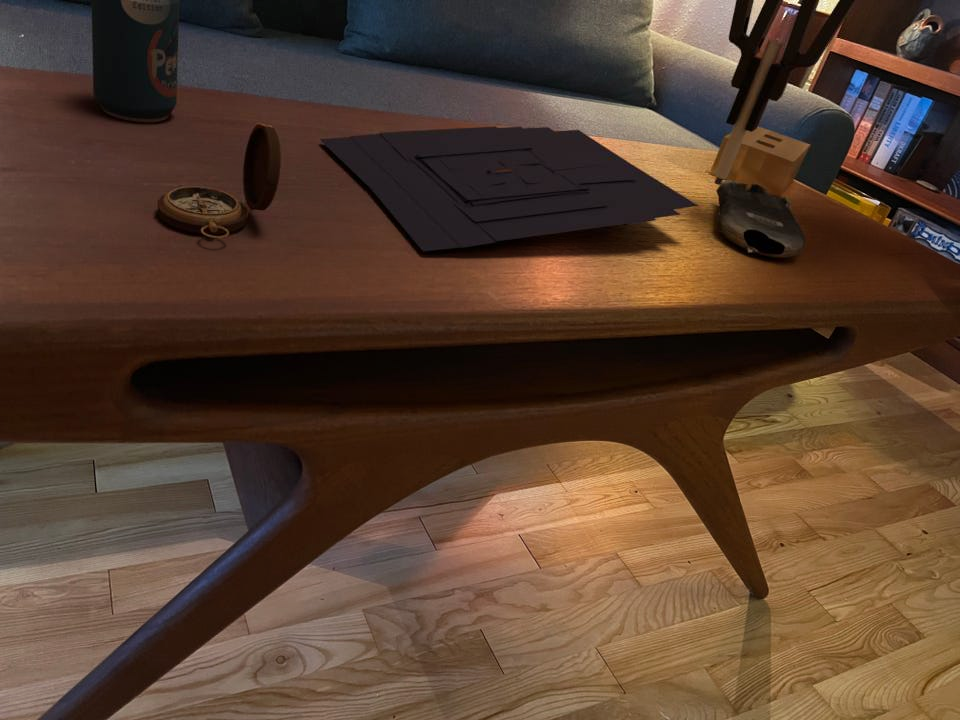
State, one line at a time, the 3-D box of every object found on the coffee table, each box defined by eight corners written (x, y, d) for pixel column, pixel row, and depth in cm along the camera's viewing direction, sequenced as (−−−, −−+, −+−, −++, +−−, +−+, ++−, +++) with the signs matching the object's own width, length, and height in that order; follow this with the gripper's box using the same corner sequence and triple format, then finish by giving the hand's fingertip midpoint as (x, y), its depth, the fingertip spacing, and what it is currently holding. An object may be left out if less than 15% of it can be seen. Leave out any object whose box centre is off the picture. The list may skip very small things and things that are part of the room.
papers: (704, 240, 75) (715, 205, 73) (421, 284, 61) (425, 242, 59) (564, 147, 91) (570, 116, 89) (317, 164, 78) (318, 129, 76)
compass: (148, 199, 57) (150, 100, 54) (257, 203, 61) (265, 111, 58) (167, 249, 52) (170, 143, 48) (285, 249, 56) (296, 151, 52)
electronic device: (698, 211, 92) (716, 239, 78) (722, 167, 90) (745, 188, 76) (770, 244, 92) (801, 278, 78) (796, 201, 90) (832, 228, 76)
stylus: (724, 184, 85) (783, 44, 77) (722, 187, 84) (781, 44, 76) (712, 180, 85) (770, 39, 78) (709, 182, 84) (767, 40, 77)
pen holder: (794, 178, 112) (810, 144, 109) (777, 199, 100) (794, 161, 97) (733, 156, 114) (747, 122, 112) (709, 173, 102) (724, 136, 100)
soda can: (171, 129, 70) (175, -14, 64) (86, 116, 68) (82, -33, 62) (179, 107, 76) (184, -27, 70) (101, 94, 74) (98, -45, 67)
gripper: (762, -161, 68) (667, 106, 80) (931, -122, 64) (803, 155, 76) (777, -148, 74) (686, 99, 86) (932, -111, 70) (813, 144, 82)
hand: (741, 125), depth 81 cm, fingers closed on stylus
